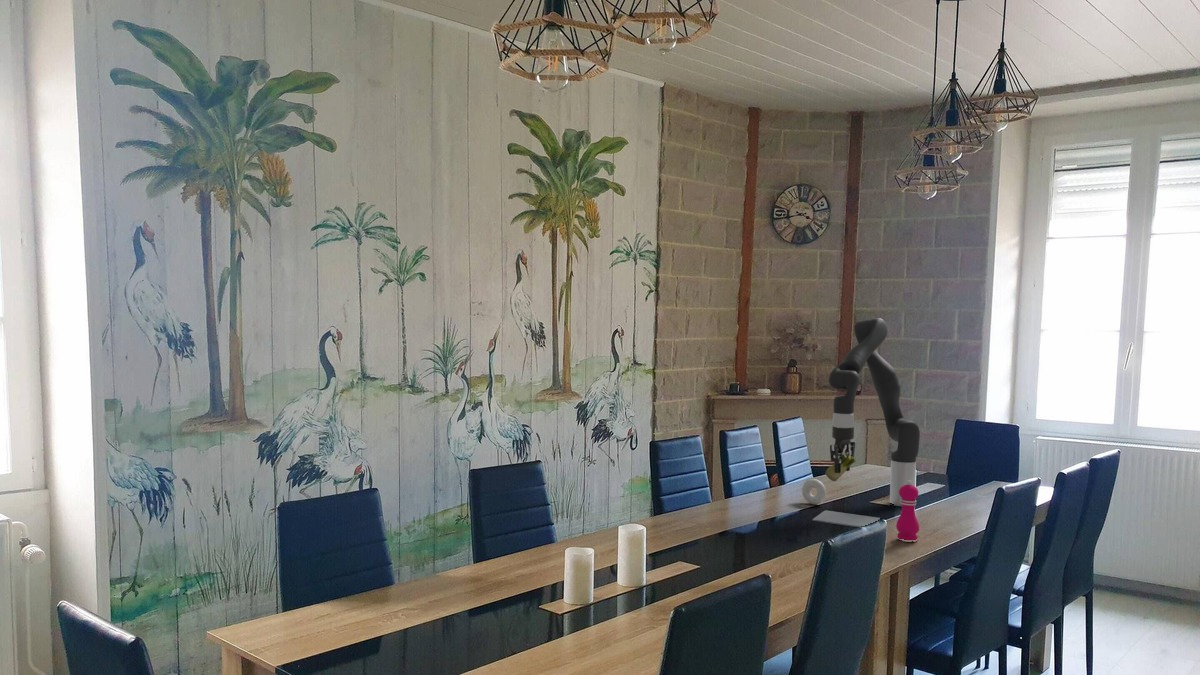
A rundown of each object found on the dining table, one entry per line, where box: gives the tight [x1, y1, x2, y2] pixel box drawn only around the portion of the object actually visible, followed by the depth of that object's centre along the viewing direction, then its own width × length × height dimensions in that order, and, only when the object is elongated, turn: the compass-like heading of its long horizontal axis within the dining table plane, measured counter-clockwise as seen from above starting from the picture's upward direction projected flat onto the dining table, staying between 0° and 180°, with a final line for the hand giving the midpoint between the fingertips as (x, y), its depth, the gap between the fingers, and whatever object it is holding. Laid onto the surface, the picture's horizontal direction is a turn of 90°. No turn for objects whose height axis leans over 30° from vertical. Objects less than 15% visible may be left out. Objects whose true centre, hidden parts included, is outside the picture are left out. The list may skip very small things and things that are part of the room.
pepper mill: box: [895, 480, 920, 540], centre depth 278 cm, size 7×7×20 cm
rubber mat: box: [812, 509, 881, 528], centre depth 304 cm, size 16×20×1 cm
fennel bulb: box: [825, 455, 857, 482], centre depth 305 cm, size 6×5×12 cm
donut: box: [801, 478, 827, 506], centre depth 327 cm, size 10×4×10 cm, turn 47°
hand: (842, 471), depth 304 cm, fingers closed on fennel bulb, 5 cm apart
